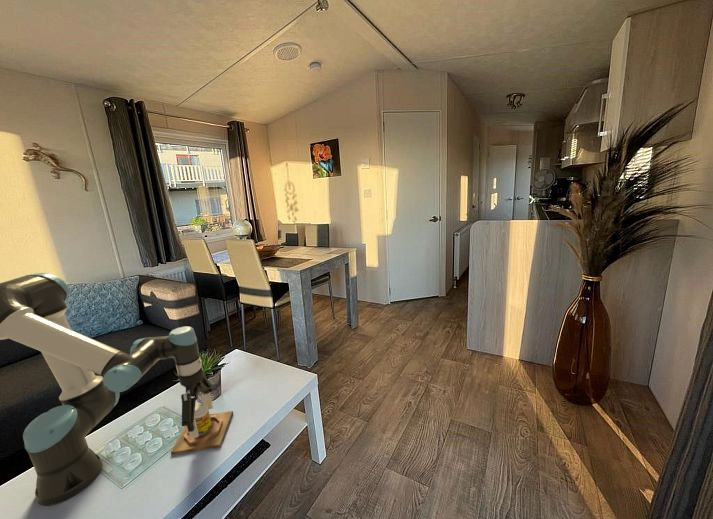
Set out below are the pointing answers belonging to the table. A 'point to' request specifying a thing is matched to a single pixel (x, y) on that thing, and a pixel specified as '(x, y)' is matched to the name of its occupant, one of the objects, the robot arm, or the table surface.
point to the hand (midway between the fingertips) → (202, 421)
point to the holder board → (207, 440)
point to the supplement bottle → (202, 418)
